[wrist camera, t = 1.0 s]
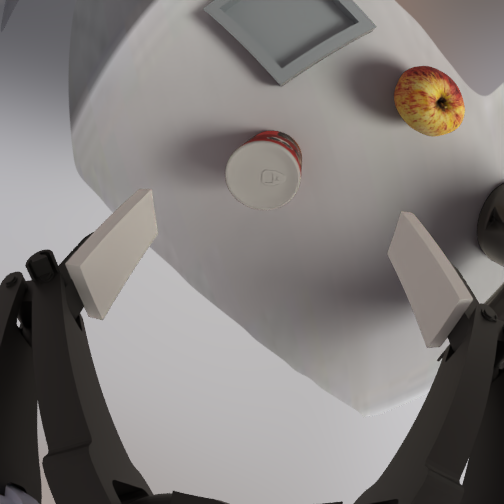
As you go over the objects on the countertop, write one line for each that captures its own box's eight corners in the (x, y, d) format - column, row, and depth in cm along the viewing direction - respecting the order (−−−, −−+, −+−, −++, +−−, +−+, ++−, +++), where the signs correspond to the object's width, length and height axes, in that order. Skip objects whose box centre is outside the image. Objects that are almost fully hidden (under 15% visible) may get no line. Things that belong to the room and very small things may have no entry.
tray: (371, 31, 24) (376, 26, 21) (281, 86, 31) (279, 85, 28) (295, -40, 19) (294, -49, 16) (210, 14, 26) (202, 9, 24)
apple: (445, 85, 25) (482, 86, 16) (433, 140, 30) (467, 155, 21) (390, 60, 25) (417, 50, 17) (378, 118, 30) (402, 125, 22)
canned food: (307, 176, 37) (307, 204, 28) (253, 186, 39) (235, 217, 30) (294, 124, 33) (291, 133, 24) (239, 137, 36) (215, 151, 27)
